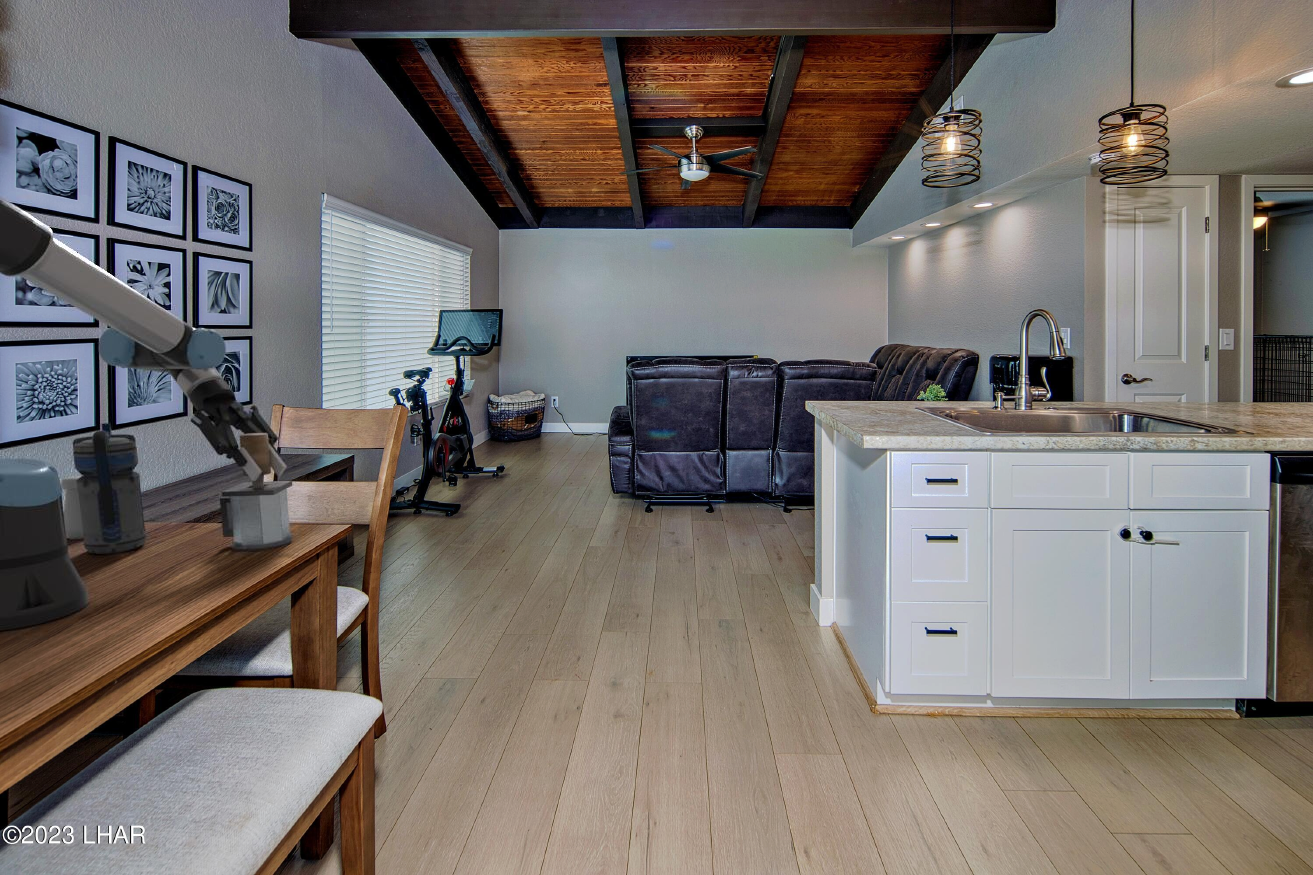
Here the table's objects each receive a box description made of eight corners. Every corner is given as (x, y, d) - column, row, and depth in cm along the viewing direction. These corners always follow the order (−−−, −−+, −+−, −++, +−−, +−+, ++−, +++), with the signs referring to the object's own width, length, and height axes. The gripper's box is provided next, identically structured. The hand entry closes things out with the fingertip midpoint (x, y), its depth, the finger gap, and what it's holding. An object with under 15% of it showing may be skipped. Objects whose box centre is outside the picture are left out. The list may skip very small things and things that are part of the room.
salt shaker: (83, 532, 161) (76, 474, 159) (104, 533, 159) (98, 474, 158) (56, 539, 155) (49, 479, 153) (78, 540, 154) (71, 480, 152)
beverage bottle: (79, 562, 139) (63, 431, 135) (89, 545, 150) (75, 424, 147) (144, 553, 144) (130, 427, 140) (149, 538, 155) (136, 421, 152)
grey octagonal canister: (213, 552, 144) (208, 492, 142) (239, 537, 154) (234, 482, 153) (280, 550, 145) (275, 490, 143) (301, 535, 156) (296, 480, 154)
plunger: (241, 516, 146) (234, 436, 144) (252, 510, 151) (246, 433, 149) (268, 515, 147) (261, 435, 145) (278, 509, 152) (271, 432, 149)
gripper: (170, 379, 141) (236, 469, 137) (254, 375, 157) (316, 454, 153) (155, 406, 144) (219, 494, 139) (239, 399, 160) (299, 478, 156)
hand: (269, 473), depth 146 cm, fingers closed on plunger, 5 cm apart
